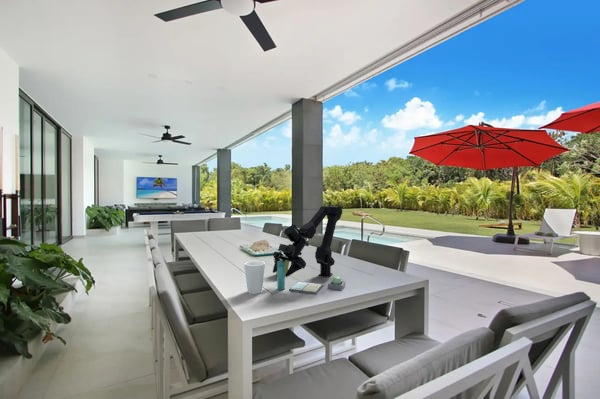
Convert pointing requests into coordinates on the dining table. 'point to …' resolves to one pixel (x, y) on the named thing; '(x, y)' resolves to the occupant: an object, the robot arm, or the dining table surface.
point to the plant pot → (285, 266)
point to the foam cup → (254, 276)
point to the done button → (336, 280)
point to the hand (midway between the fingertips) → (279, 274)
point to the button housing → (336, 285)
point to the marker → (280, 275)
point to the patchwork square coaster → (306, 287)
